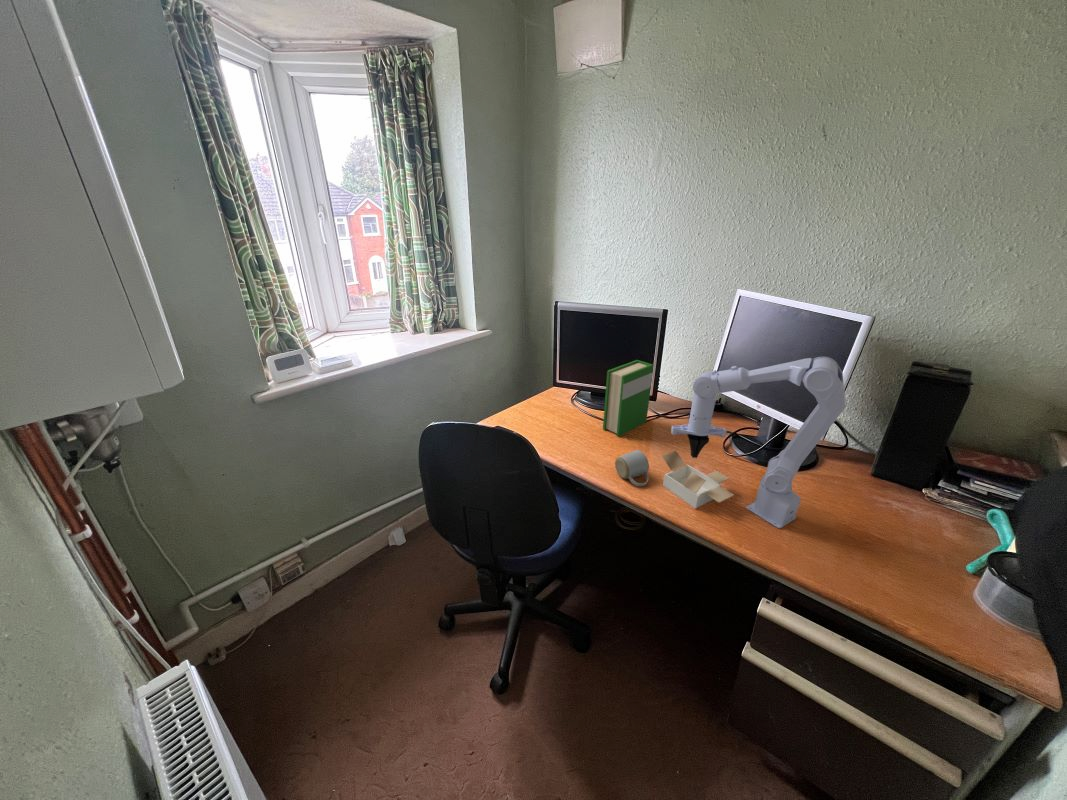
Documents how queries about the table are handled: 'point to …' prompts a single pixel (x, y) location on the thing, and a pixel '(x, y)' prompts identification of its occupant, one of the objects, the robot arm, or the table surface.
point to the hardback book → (627, 396)
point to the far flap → (673, 460)
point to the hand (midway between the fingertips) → (693, 456)
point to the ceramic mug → (632, 466)
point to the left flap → (693, 482)
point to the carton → (707, 490)
